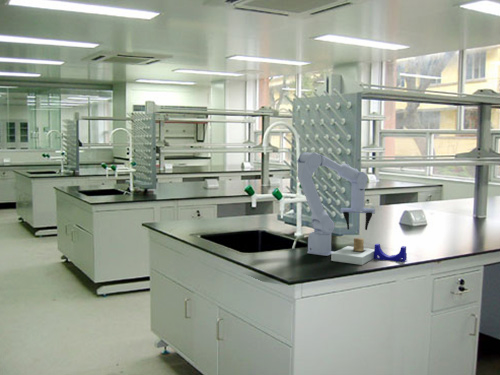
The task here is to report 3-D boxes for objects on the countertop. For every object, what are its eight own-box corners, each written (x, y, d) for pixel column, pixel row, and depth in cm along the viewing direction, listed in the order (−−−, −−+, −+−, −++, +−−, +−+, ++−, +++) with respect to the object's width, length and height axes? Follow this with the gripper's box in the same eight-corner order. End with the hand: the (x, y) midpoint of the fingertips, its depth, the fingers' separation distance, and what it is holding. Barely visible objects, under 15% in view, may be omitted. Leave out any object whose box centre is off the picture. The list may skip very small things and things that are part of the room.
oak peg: (351, 258, 206) (351, 239, 206) (355, 256, 210) (356, 237, 209) (360, 259, 204) (361, 240, 203) (365, 257, 207) (365, 238, 207)
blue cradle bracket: (406, 260, 204) (406, 245, 203) (404, 262, 200) (404, 247, 199) (377, 257, 210) (377, 242, 209) (374, 259, 206) (374, 244, 205)
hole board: (331, 260, 202) (331, 253, 202) (347, 252, 216) (347, 246, 216) (362, 264, 195) (362, 257, 195) (376, 256, 209) (376, 249, 209)
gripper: (341, 199, 217) (340, 230, 218) (375, 200, 214) (374, 231, 216) (340, 197, 223) (340, 227, 225) (374, 198, 221) (373, 228, 223)
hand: (357, 229), depth 221 cm, fingers open, 7 cm apart
